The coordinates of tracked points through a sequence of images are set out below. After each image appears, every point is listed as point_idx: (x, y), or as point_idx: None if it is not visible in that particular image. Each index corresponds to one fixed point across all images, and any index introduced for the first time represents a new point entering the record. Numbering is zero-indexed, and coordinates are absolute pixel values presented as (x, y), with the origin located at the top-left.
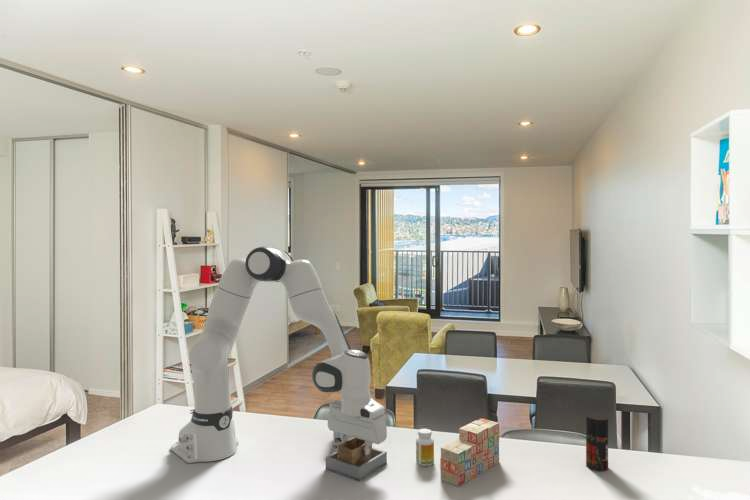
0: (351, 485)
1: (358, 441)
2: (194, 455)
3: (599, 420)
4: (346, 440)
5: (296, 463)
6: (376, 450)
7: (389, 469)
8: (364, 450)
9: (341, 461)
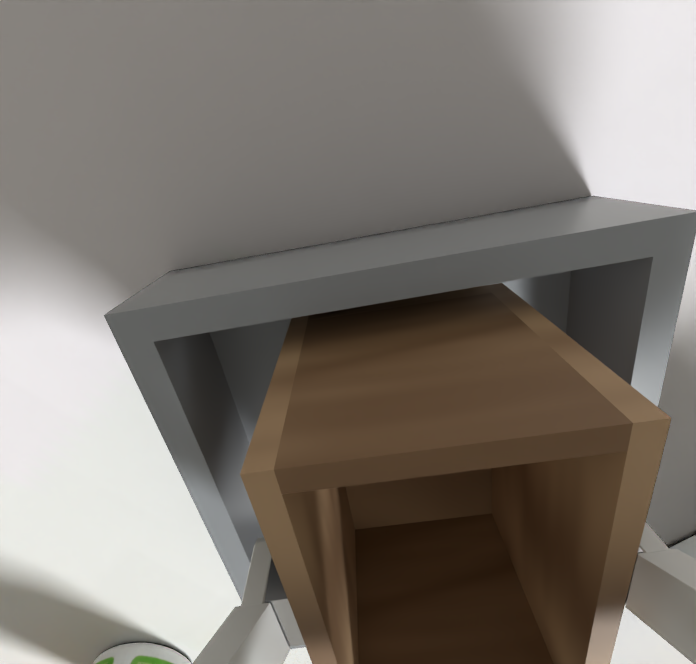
0: (133, 157)
1: (520, 651)
2: None
3: None
4: (648, 604)
5: None
6: None
7: (197, 526)
8: (269, 582)
9: (425, 288)
